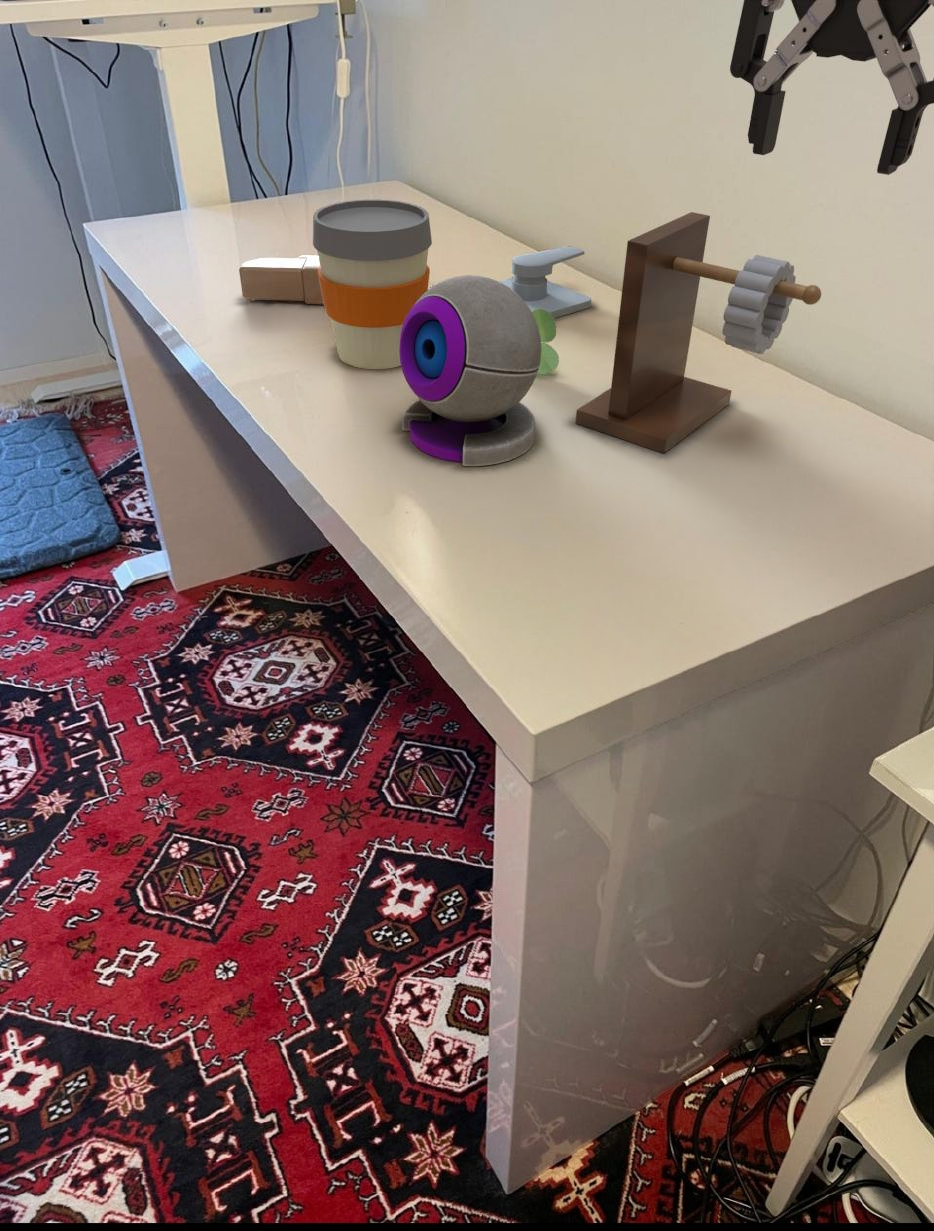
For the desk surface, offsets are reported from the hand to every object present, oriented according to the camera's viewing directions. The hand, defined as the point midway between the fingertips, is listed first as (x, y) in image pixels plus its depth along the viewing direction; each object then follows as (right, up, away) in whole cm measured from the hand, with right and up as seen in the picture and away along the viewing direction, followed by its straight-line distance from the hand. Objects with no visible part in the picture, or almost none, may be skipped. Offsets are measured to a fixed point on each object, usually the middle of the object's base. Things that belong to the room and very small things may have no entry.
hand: (822, 162), depth 64 cm
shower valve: (-15, +10, +59) cm, 61 cm away
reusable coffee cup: (-34, -1, +45) cm, 56 cm away
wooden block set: (-43, +14, +63) cm, 77 cm away
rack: (-1, -11, +31) cm, 33 cm away
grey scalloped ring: (+2, -6, +24) cm, 24 cm away
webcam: (-23, -13, +29) cm, 40 cm away
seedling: (-16, -2, +43) cm, 46 cm away
